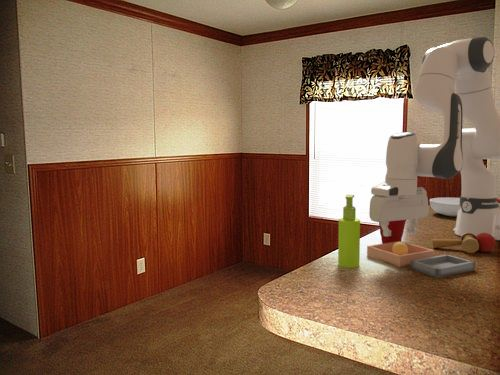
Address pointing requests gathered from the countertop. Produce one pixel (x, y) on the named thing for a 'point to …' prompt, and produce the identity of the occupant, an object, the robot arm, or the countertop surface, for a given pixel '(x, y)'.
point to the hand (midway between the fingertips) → (399, 234)
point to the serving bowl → (446, 206)
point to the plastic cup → (393, 231)
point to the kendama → (469, 242)
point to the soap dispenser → (349, 236)
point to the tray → (442, 265)
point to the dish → (386, 255)
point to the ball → (400, 248)
